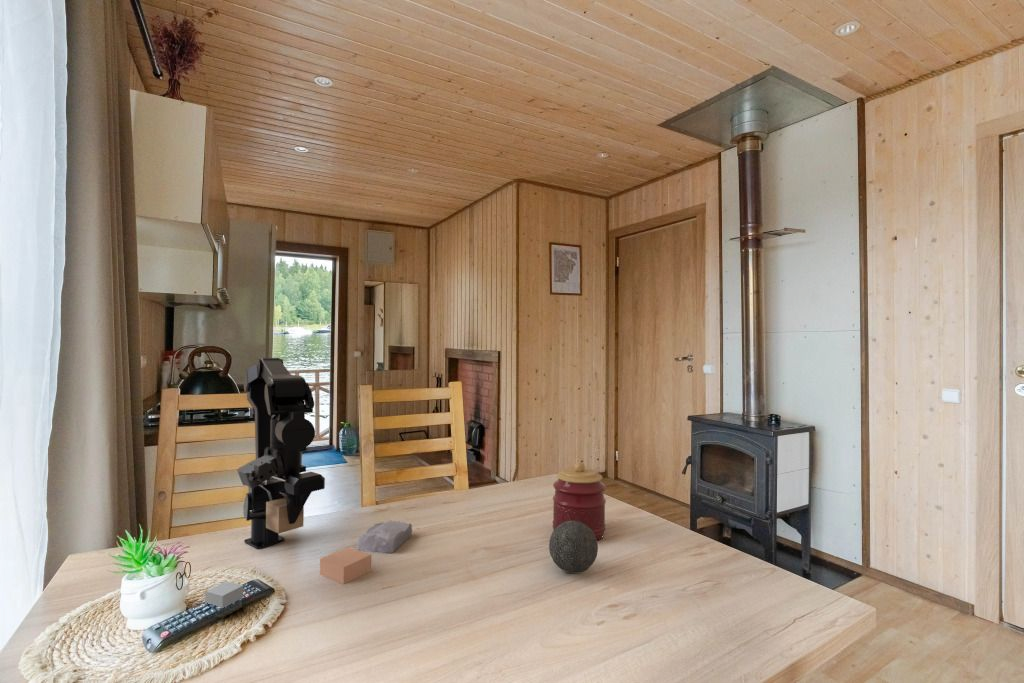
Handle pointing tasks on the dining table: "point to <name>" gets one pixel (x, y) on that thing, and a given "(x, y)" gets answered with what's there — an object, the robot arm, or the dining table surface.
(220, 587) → the grey block
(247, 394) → the robot arm
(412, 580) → the dining table surface
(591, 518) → the canister
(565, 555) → the decorative ball
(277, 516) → the walnut cube
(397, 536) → the stone block
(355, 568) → the terracotta block
